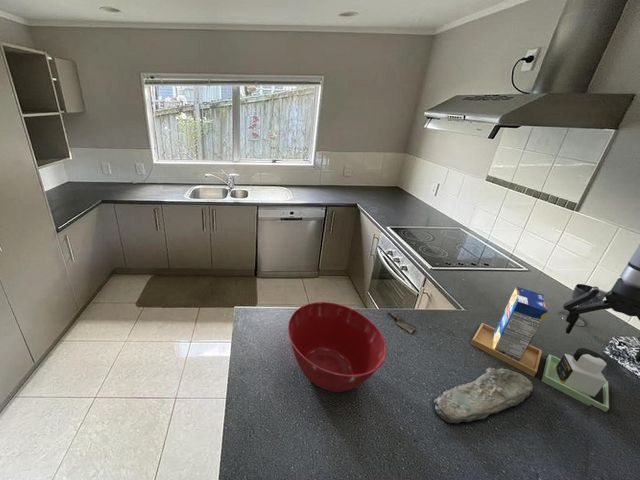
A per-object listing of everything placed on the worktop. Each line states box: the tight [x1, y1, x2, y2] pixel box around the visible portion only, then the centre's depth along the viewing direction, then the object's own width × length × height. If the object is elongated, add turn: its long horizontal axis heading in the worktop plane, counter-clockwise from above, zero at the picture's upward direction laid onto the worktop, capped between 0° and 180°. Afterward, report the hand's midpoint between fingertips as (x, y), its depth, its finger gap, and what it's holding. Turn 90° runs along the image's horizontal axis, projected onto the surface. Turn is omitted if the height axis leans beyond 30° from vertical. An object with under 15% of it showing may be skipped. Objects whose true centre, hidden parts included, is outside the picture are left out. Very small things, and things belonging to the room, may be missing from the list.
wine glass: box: [559, 283, 606, 327], centre depth 112 cm, size 8×8×15 cm
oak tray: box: [470, 322, 543, 378], centre depth 99 cm, size 17×13×2 cm
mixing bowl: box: [287, 301, 387, 393], centre depth 86 cm, size 28×28×16 cm
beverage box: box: [493, 286, 548, 361], centre depth 95 cm, size 7×11×22 cm, turn 141°
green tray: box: [541, 353, 610, 413], centre depth 87 cm, size 13×13×2 cm
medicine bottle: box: [555, 347, 608, 397], centre depth 85 cm, size 7×7×12 cm
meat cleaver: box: [386, 310, 415, 334], centre depth 110 cm, size 12×1×5 cm
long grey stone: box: [433, 367, 534, 424], centre depth 81 cm, size 35×5×10 cm
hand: (600, 344), depth 82 cm, fingers open, 13 cm apart
